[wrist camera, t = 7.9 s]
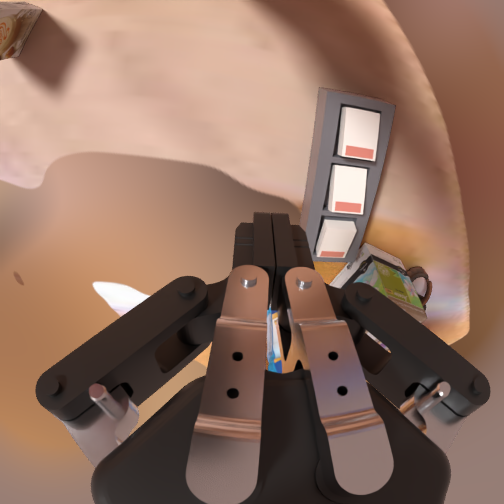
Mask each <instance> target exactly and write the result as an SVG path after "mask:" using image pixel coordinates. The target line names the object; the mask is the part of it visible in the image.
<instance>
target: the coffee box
mask: <svg viewBox="0 0 504 504" xmlns="http://www.w3.org/2000/svg"><path fill="white" fill-rule="evenodd" d="M41 12H42V9H41V8H39V7H36V6H34V5H31V4H29V3H26V2H0V60H3V59H8V58H13V57H18V56H19V54H20V52H21V50H22V48H23V46H24V44H25V42H26V39H27V37H28V35H29V33H30V32H31V30H32V28H33V26H34V24H35V22H36V20H37V19H38V17H39V15H40V13H41Z"/></svg>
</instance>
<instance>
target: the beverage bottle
mask: <svg viewBox="0 0 504 504" xmlns="http://www.w3.org/2000/svg"><path fill="white" fill-rule="evenodd" d="M277 319H278V314H277V311H275V310H271V306H270V307H269V310H267V360H268V362H269V365H268V371H272V372H277V373H282V362H281V355H280V349H279V342H278V336H277V329H276V324H277Z"/></svg>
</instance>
